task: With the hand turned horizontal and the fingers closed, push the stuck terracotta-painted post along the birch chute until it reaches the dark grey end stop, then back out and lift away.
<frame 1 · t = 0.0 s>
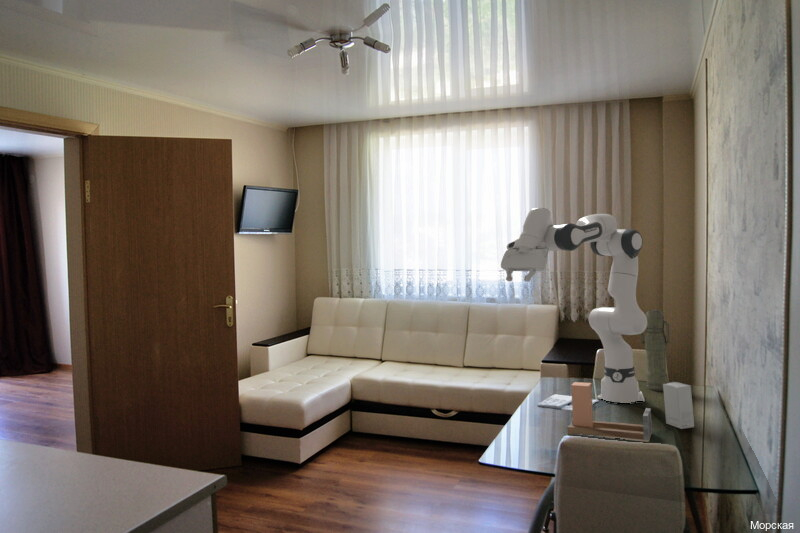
hand: (517, 280, 219), 54 cm above the table, tool tilted 30°, fingers open, 8 cm apart
post: (582, 406, 212), point 9 cm above the table, slide at 0.0 cm
chute: (607, 433, 208), on the table
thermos: (657, 388, 267), on the table
folded bicycle print cloth: (568, 405, 249), on the table
skincare box: (679, 426, 213), on the table
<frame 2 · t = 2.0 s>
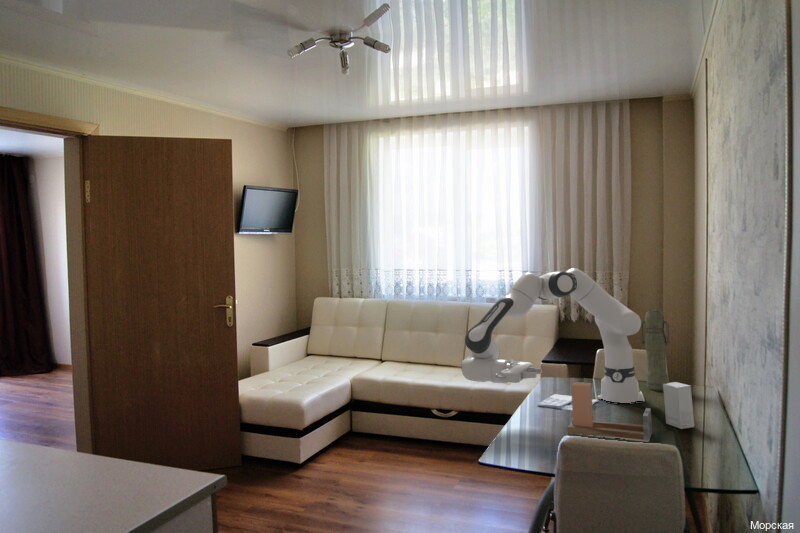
hand: (538, 373, 219), 20 cm above the table, tool horizontal, fingers open, 5 cm apart
nothing on the table moved.
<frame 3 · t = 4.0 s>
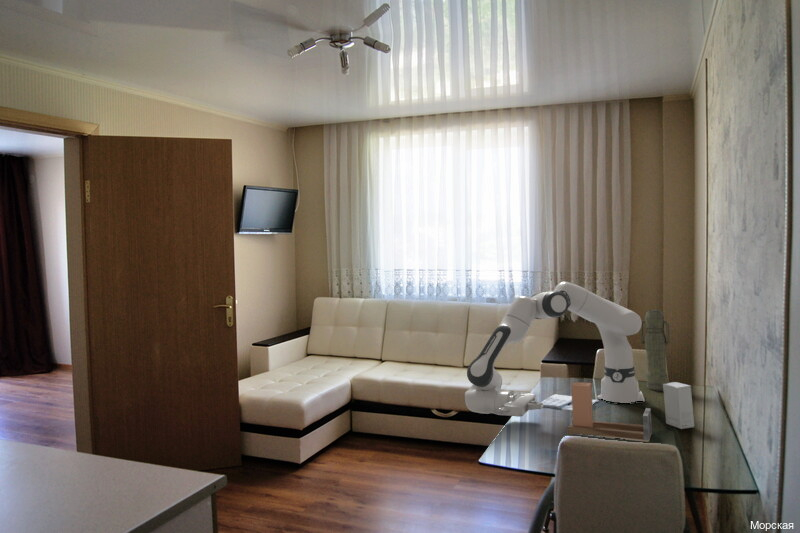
hand: (542, 406, 219), 8 cm above the table, tool horizontal, fingers closed
nothing on the table moved.
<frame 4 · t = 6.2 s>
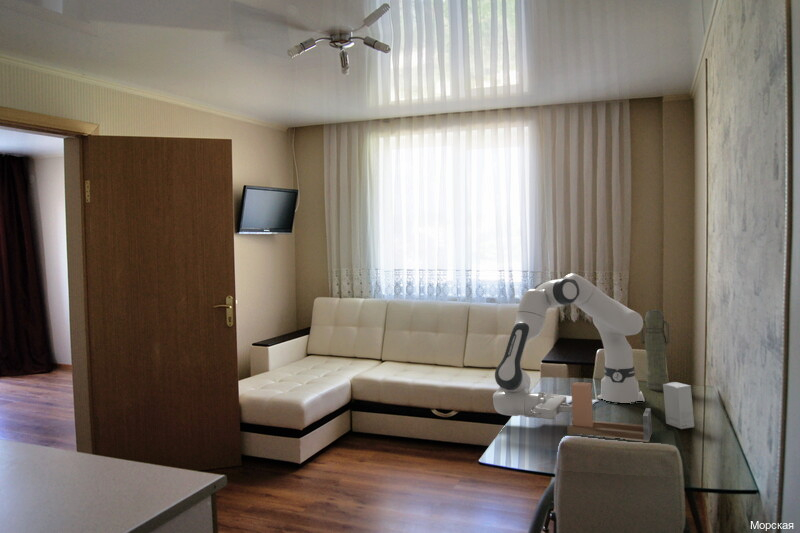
hand: (573, 408, 213), 8 cm above the table, tool horizontal, fingers closed, pressing on post
post: (582, 406, 212), point 9 cm above the table, slide at 0.0 cm, touching gripper
everything else where it was.
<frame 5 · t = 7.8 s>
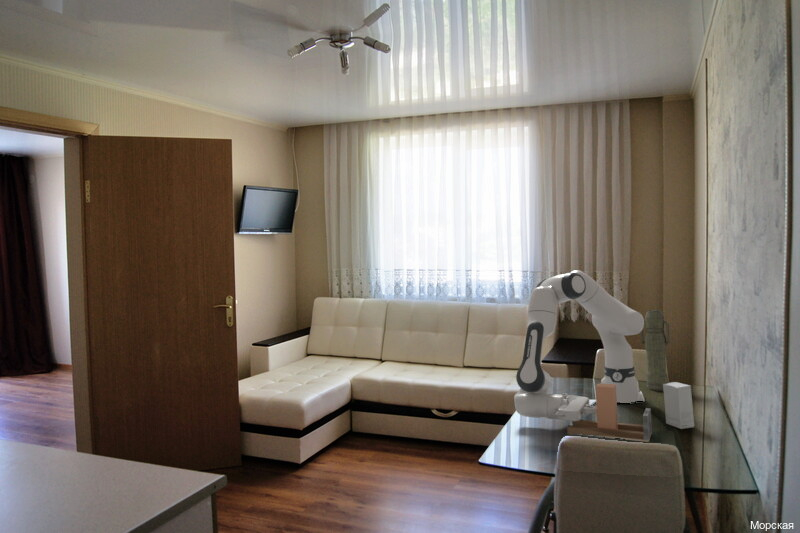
hand: (597, 410, 209), 8 cm above the table, tool horizontal, fingers closed, pressing on post
post: (606, 408, 208), point 9 cm above the table, slide at 8.3 cm, touching gripper
everything else where it was.
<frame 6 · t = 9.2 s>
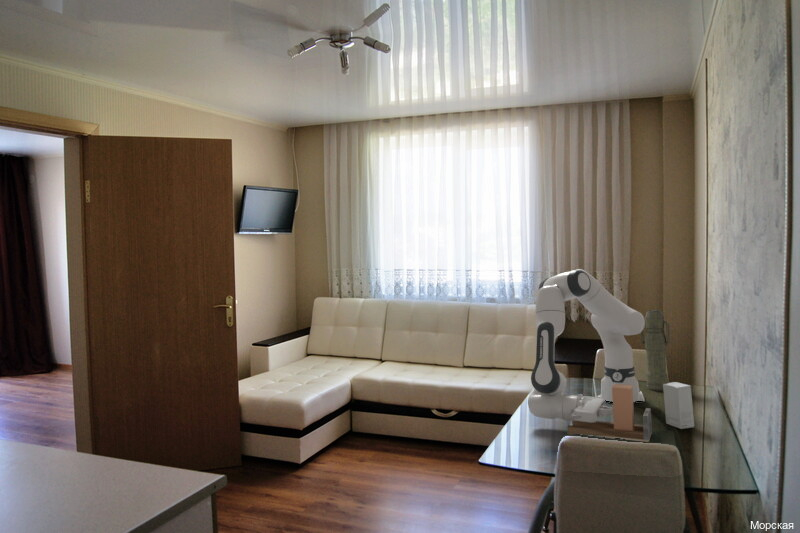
hand: (614, 411, 207), 8 cm above the table, tool horizontal, fingers closed, pressing on post
post: (623, 409, 205), point 9 cm above the table, slide at 13.8 cm, touching gripper
everything else where it was.
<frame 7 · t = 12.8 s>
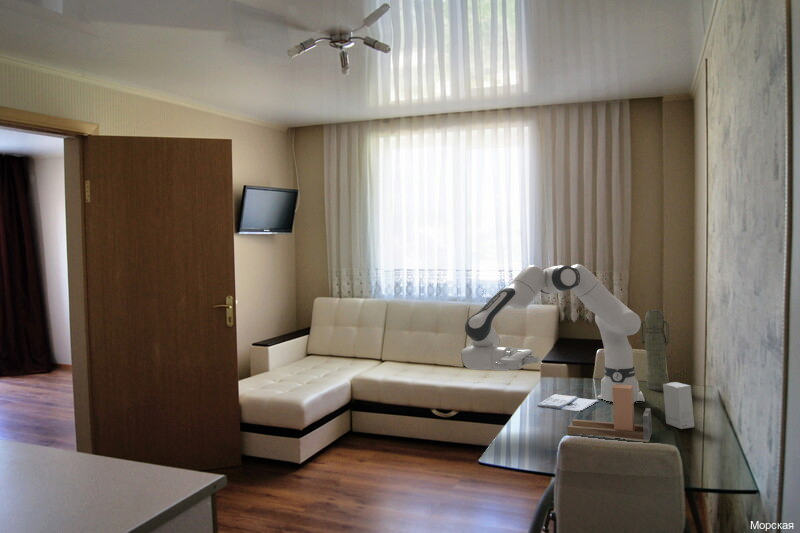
hand: (538, 359, 218), 25 cm above the table, tool horizontal, fingers closed
post: (623, 409, 205), point 9 cm above the table, slide at 13.9 cm
everything else where it was.
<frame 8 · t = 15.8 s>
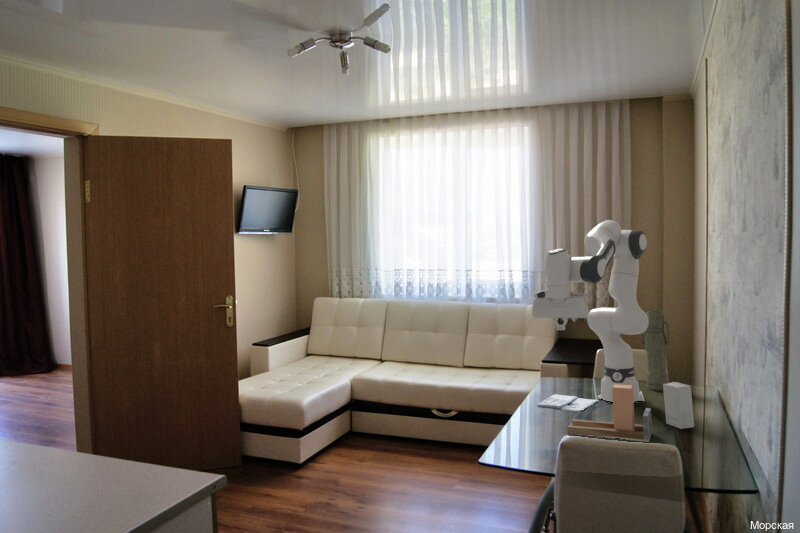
hand: (560, 329, 221), 35 cm above the table, tool pointing down, fingers closed
nothing on the table moved.
at the end: post slide at 13.9 cm; the gripper is holding nothing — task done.
